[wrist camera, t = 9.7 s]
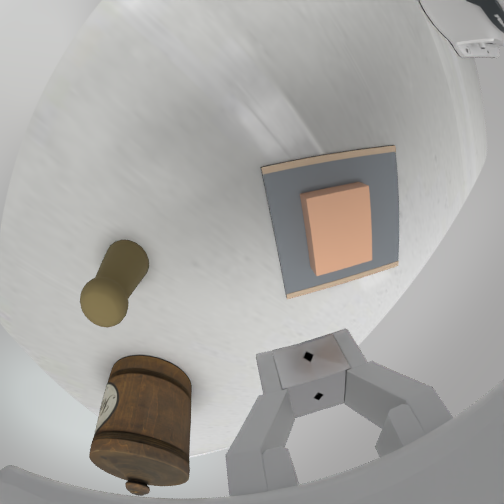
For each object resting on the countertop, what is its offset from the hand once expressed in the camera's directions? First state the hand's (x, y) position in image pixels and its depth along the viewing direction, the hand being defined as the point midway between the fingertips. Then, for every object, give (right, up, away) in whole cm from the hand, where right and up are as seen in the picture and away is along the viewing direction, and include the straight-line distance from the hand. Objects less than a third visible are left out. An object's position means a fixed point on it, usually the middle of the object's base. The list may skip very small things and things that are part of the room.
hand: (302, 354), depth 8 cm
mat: (+10, +7, +26) cm, 29 cm away
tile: (+5, +5, +24) cm, 25 cm away
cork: (-18, +2, +25) cm, 30 cm away
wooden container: (-20, -20, +34) cm, 44 cm away
